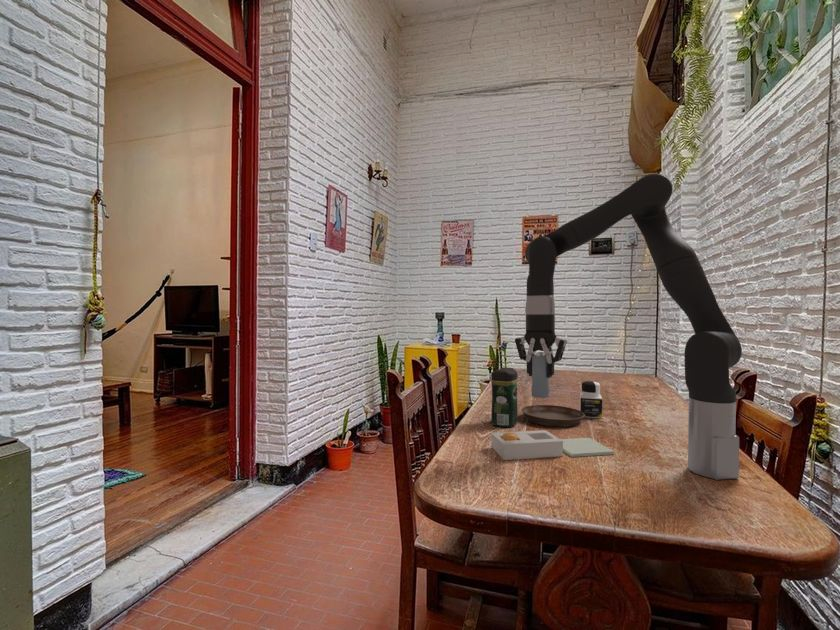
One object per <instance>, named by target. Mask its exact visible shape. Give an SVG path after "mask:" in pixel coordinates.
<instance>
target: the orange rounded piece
mask: <svg viewBox="0 0 840 630" xmlns="http://www.w3.org/2000/svg"><path fill="white" fill-rule="evenodd" d="M503 439H504V440H505V441H511V440H517V434H515V433H504V434H503Z"/></svg>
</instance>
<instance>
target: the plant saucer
mask: <svg viewBox="0 0 840 630" xmlns="http://www.w3.org/2000/svg"><path fill="white" fill-rule="evenodd" d="M520 409H521V412H522V414H523V415H524V417H525V418H526V419H527V420H528V421H530V422H531V423H534V424H537V425H542V426H547V427H549V426H550V427H570V426H575V425H577V424H579V423H580V422H581V421H582V420H583V419H584V418H585V417H584V416H585V414H584V413H583V412H581V411H579V410H578V409H576V408H572V407H567V406H563V405H554V404H553V405H552V404H551V405H550V404H534V405H533V404H532V405H528V406H524V407H522V408H520Z"/></svg>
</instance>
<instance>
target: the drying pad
mask: <svg viewBox="0 0 840 630" xmlns="http://www.w3.org/2000/svg"><path fill="white" fill-rule="evenodd" d="M559 439H560V438H559ZM560 440H562V441H563V453H565V454H567V455H568V456H569V457H571V458H581V457H591V456H592V457H594V456H608V455H609V456H610V455H615V451H614V450H613V449H611V448H609V447H607V446H605V445H603V444H602V443H599V442H597V441H596V440H594V439H593V438H591V437H578V438H577V437H575V438H561V439H560Z"/></svg>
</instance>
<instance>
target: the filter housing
mask: <svg viewBox="0 0 840 630" xmlns="http://www.w3.org/2000/svg"><path fill="white" fill-rule="evenodd" d="M504 433H515V434H517V440H511V441H505V440H504V439H503V434H504ZM490 436H491V437H490V441H491V445H490V447H492V448H493V449H494V450H495V451H496V452H497V453H498V454H497V453H496V452H495V451H494V450H493V449H492V448H491V449H492V450H493V451H494V452H495V453H496V454H497V455H498V456H500V458H501V459H502V460H503V461H512V460H526V459H527V460H528V459H539V458H540V459H543V458H559V457H564V451H563V441H562V440H560V438H559V437H558V436H555V435H554V434H552V433H551V432H549V431H548V430H546V429H545V430H544V429H543V430H541V429H540V430H526V431H525V430H523V431H505V432H504V431H503V432H491V434H490Z"/></svg>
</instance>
